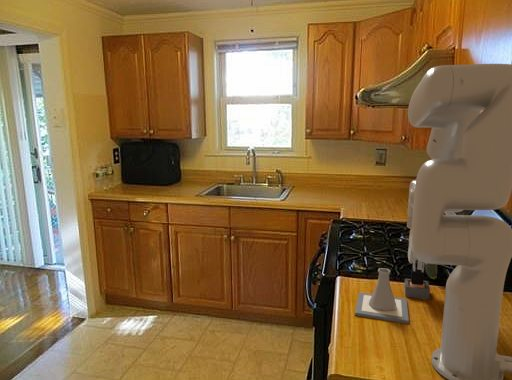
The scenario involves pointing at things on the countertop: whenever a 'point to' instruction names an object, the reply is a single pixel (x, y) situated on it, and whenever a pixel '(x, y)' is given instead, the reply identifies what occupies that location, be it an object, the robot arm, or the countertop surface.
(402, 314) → the board
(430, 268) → the vegetable
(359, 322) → the countertop surface
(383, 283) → the flask
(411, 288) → the button housing
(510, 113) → the robot arm
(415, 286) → the button
